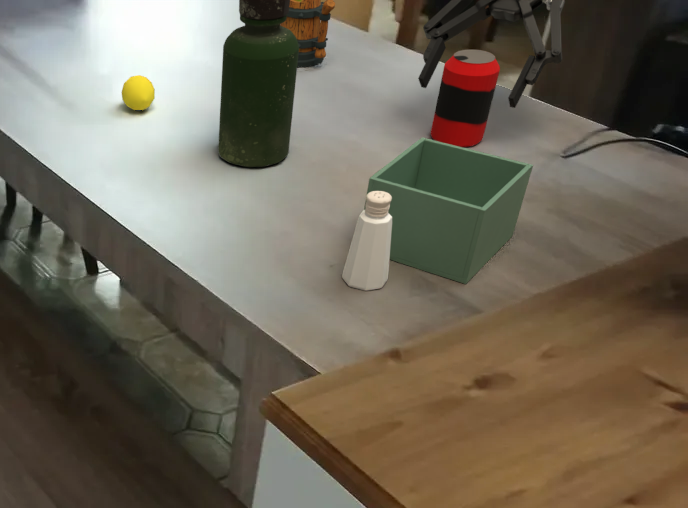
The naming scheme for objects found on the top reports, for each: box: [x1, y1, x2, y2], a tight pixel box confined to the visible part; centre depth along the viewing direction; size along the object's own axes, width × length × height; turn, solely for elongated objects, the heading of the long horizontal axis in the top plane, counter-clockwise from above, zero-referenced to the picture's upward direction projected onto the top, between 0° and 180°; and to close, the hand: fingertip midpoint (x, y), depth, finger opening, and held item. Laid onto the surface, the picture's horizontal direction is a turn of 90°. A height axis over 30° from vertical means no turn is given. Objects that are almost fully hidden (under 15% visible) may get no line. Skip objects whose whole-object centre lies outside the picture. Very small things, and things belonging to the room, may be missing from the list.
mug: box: [280, 0, 336, 69], centre depth 163 cm, size 13×10×12 cm
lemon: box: [121, 74, 156, 111], centre depth 152 cm, size 7×5×5 cm
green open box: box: [363, 136, 534, 285], centre depth 114 cm, size 14×14×10 cm
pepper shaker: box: [341, 191, 392, 292], centre depth 108 cm, size 5×5×11 cm
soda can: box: [429, 49, 501, 148], centre depth 136 cm, size 8×8×12 cm
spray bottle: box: [217, 0, 299, 168], centre depth 131 cm, size 10×10×25 cm
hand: (465, 93), depth 136 cm, fingers open, 13 cm apart
